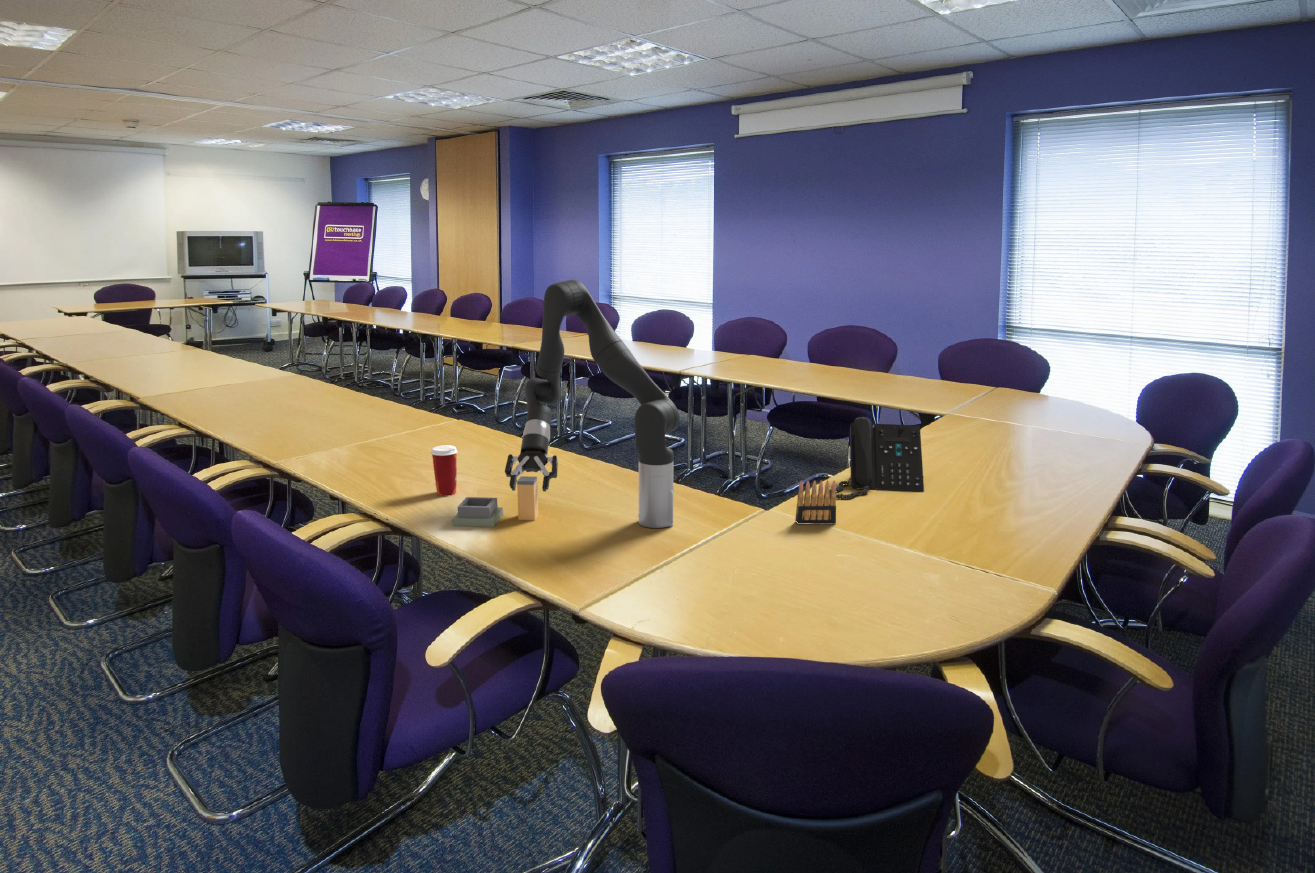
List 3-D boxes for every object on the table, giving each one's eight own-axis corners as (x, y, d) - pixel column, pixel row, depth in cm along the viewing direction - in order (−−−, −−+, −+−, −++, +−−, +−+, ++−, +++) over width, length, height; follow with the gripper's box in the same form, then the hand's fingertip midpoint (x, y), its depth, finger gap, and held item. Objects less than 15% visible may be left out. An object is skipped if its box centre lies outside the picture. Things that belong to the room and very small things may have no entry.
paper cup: (465, 492, 242) (463, 446, 239) (446, 498, 236) (443, 452, 232) (447, 487, 246) (444, 443, 243) (427, 494, 240) (424, 448, 236)
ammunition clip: (834, 521, 218) (836, 479, 215) (836, 523, 216) (838, 481, 213) (795, 522, 218) (797, 479, 215) (796, 524, 216) (798, 481, 213)
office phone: (828, 499, 237) (832, 433, 233) (822, 473, 265) (825, 413, 260) (931, 504, 234) (937, 437, 229) (914, 477, 261) (919, 416, 256)
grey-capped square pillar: (538, 514, 222) (537, 476, 219) (534, 520, 218) (533, 481, 215) (522, 514, 222) (520, 476, 220) (518, 519, 218) (517, 480, 215)
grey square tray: (503, 514, 222) (502, 497, 221) (493, 526, 213) (493, 508, 211) (463, 513, 223) (462, 496, 222) (452, 525, 213) (451, 507, 212)
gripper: (508, 431, 225) (500, 482, 217) (559, 432, 224) (552, 484, 216) (513, 445, 232) (505, 495, 223) (562, 446, 231) (556, 496, 222)
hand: (528, 489), depth 220 cm, fingers open, 8 cm apart
